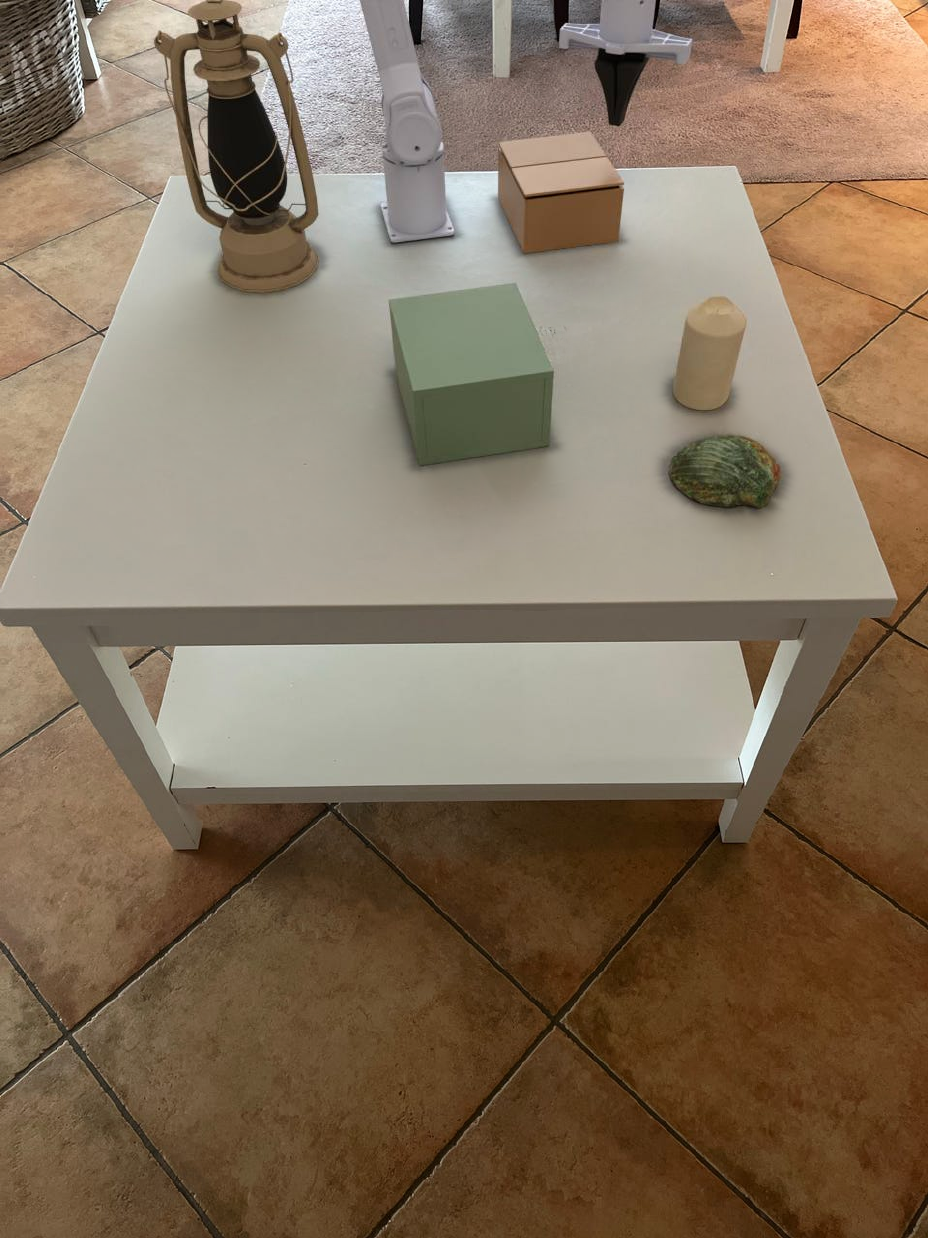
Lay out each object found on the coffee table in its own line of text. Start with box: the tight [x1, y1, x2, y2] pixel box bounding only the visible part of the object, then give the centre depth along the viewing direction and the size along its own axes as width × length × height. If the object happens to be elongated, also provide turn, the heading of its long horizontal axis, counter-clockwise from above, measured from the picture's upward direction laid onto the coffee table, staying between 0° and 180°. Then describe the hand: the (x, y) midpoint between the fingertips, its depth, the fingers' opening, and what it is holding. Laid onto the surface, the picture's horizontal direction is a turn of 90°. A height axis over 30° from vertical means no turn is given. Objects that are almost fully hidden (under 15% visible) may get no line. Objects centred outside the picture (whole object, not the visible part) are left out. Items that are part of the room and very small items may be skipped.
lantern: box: [153, 0, 320, 294], centre depth 97 cm, size 15×12×30 cm
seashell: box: [668, 434, 782, 509], centre depth 82 cm, size 10×4×10 cm
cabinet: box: [388, 282, 555, 467], centre depth 88 cm, size 15×13×9 cm
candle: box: [672, 295, 748, 411], centre depth 87 cm, size 6×6×10 cm
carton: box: [497, 131, 625, 255], centre depth 111 cm, size 14×12×7 cm
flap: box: [512, 157, 625, 197], centre depth 106 cm, size 7×12×1 cm, turn 101°
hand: (616, 121), depth 107 cm, fingers closed
